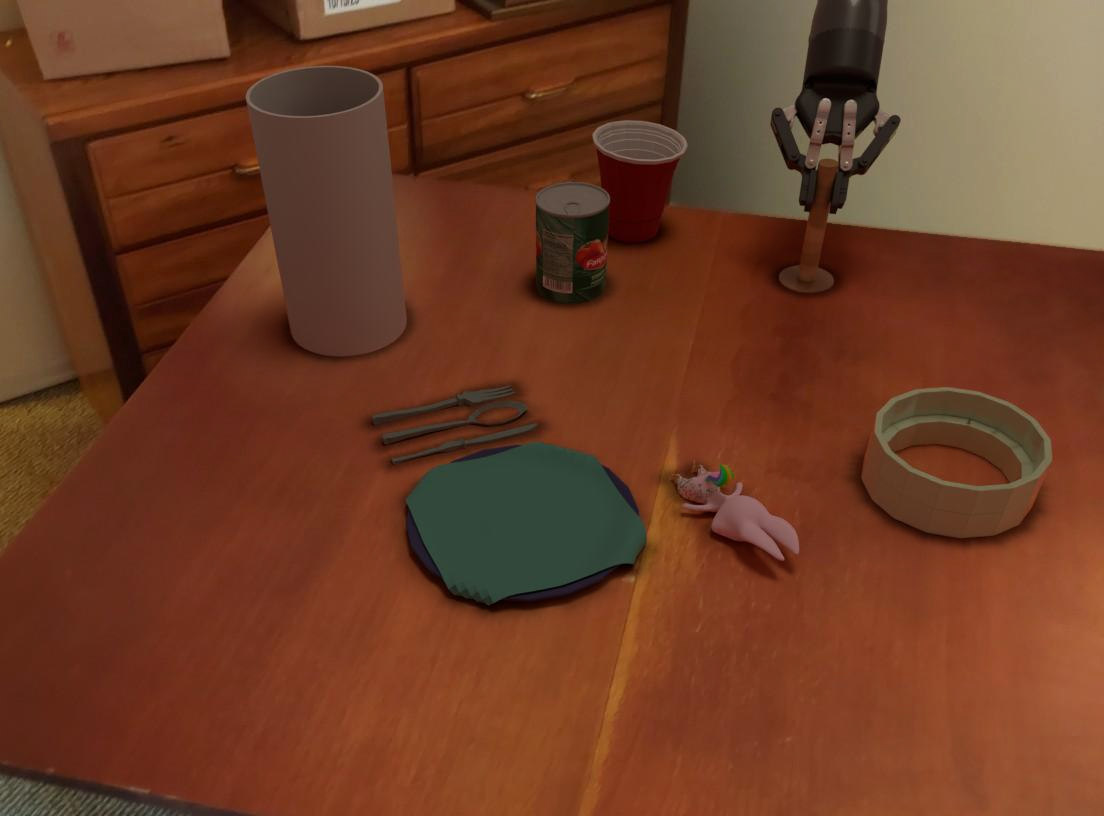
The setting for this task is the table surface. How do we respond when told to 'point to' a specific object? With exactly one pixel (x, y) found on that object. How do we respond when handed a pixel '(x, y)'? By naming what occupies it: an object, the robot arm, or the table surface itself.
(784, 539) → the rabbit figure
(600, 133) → the plastic cup
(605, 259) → the canned tomato
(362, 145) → the cylinder vase
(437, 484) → the cutlery set
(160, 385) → the table surface
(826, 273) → the wooden peg on disc
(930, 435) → the ring
